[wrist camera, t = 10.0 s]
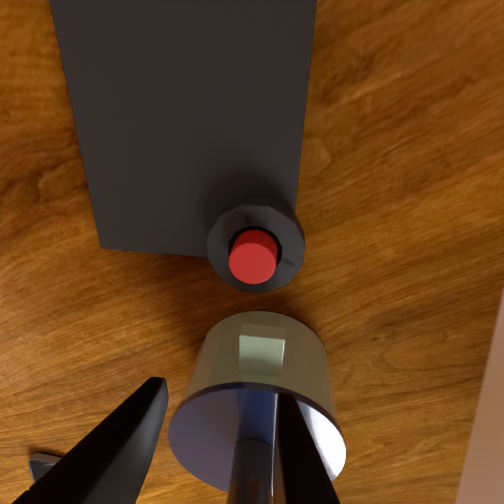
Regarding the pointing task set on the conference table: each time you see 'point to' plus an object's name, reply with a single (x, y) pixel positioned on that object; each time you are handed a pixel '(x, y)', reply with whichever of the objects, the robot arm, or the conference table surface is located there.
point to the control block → (191, 122)
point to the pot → (264, 357)
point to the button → (253, 257)
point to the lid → (245, 438)
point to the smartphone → (41, 464)
